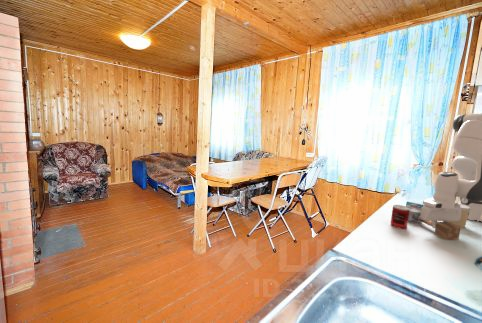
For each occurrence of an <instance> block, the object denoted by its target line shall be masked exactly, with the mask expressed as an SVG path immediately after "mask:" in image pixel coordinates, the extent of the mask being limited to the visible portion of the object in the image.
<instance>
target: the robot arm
mask: <svg viewBox="0 0 482 323" xmlns="http://www.w3.org/2000/svg"><path fill="white" fill-rule="evenodd" d="M452 130H454V131H455V132H457V134H456V136H455V139H454V142H453V150H454V152H455V153H456V154H458V155H459V156H456V157H454V159H453V160H451V167H452V169H453V170H454V171H455V172H453V171H441V172H439V173H438V175H437V177H436V179H435V182H434V187H433V188H434V193H433V194H432V197H430V198H427V199H425V200H423V201H422V205H424V206H423V207H422V209H421V215H420V217H421V218H422V219H423V220H425V221H431V222H432V224H433V225H432V226H431V227H432V229H434V230H435V228H436V222H449V221H459V220H460V218H461V209H460V207H461V206H460V205H459V204H462V205H465V206H468V207H470V211H469V215H468V218H467V220H470V221H474V220H477V221H476V222H479V221H481V222H480V223H482V112H481V113H471V114H470V113H469V114H467V113H464V114H458V115H457V116H455V117H454V118H453V121H452ZM456 172H457V173H456ZM458 174H459V175H458ZM459 176H460V177H461V178H459ZM456 197H458V198H459V200H458V201H457V200H456ZM456 201H457V202H456Z"/></svg>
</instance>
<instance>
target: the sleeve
mask: <svg viewBox="0 0 482 323" xmlns="http://www.w3.org/2000/svg"><path fill="white" fill-rule="evenodd" d="M420 215H421V211H419V210H417V209H410V211H409V218H408V223H411V224H417V223H419V224H422V223H423V222H421V221H419V220H418V217H419V216H420Z"/></svg>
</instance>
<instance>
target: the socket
mask: <svg viewBox="0 0 482 323" xmlns="http://www.w3.org/2000/svg"><path fill="white" fill-rule="evenodd" d="M461 230H462V228H461V227H460V226H458V225H455V224H453V223H450V222H443V221H437V222H436V228H435V229H434V235H435V236H437V237H439V238H441V239H443V240H445V241H447V240H448V241H450V240H452V241H454V240H455V241H457V240H459V239H460V234H461Z"/></svg>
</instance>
